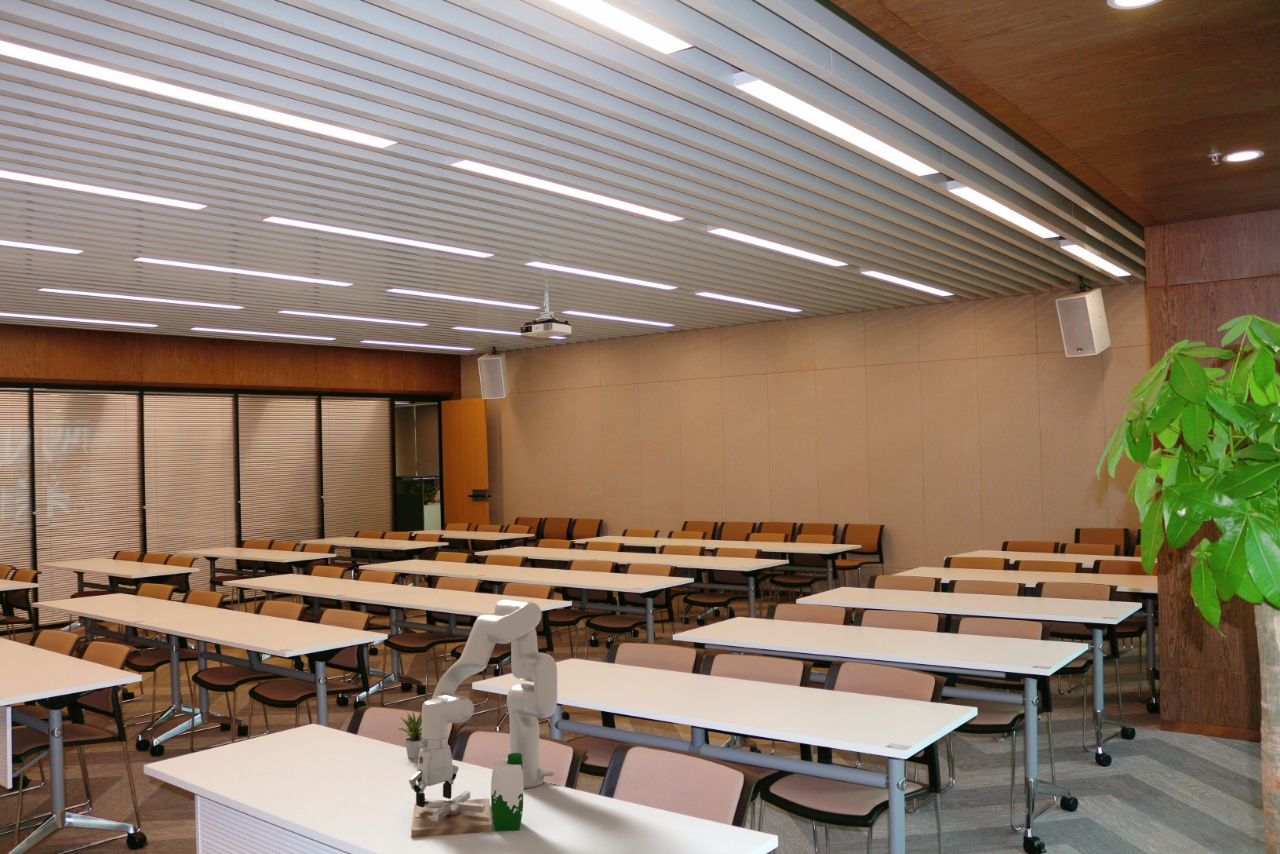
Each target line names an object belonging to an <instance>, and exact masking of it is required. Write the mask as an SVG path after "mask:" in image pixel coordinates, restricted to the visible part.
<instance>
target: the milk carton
mask: <svg viewBox="0 0 1280 854" xmlns="http://www.w3.org/2000/svg"><path fill="white" fill-rule="evenodd" d="M522 766H523V762H522V754H520V753H511V754H510V753H508V754H507V757H506V758H500V759H497V758H496V759H494V762H493V767H492V773H491V781H490V782H491V783H490V785H491V786H490V790H491V791H490V795H491V796H490V800H491V801H490V811H491V820H492V827H493V831H494V832H511V831H512V832H513V831H520V830H521V826H522V824H521V823H522V816H523V811H524V788H523V770H522Z"/></svg>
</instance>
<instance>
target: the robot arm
mask: <svg viewBox="0 0 1280 854" xmlns="http://www.w3.org/2000/svg"><path fill="white" fill-rule="evenodd" d="M541 620H542V609H541V607H540V606H539V605H538V604H537V603H535V602H533V601H526V600H517V599H511V598H509V599H508V598H506V599H501V600H499V601H498V602H497V603H495V606H494V614H487V613H486V614H482V615H481V614H480V615H479V616H478V617H477V619H476V620H475V621H474V623H473V626H472V628H471V630H470V633H469V636H468V638H467V641H466V643H465V645H464V648H463V651H462V652H461V656H460V657H459V658H458V660H456V662H455V663H453V664H452V665H451V666H450V667H449V668H448V669H447V670H446V672H444V673H443V674H442V676H441V677H440V679H439V680H438V682H437V685H436V687H435V689H434V692H433V693H432V694H433V695H432V696H431V697H432V698H431V699H428V700H425V701H424V702H423V703H422V707H421V711H422V715H421V716H422V725H421V727H422V730H421V731H422V735H421V737H422V742H421V743H419V747H422V749H420V752H419V758H417V766H416V767H417V768H416V773H415V774H413V775H412V776H411V777H410V778H409V779H408V783H409V786H410V788H411V789H412V791H414V793H415V804H416V805H417V806H419V807H424V806H425V799H426V797H425V796H426V793H425V792H424V791H425V790H426V788H427V787H431V786H435V785H439V784H441V783H443V784H442V797H443V798H446V799H448V800H450V799H451V800H452V789H453V787H452V785H453V784H455V783H454V781H455V779H456V778H457V774H458V772H459V766H458V765H455V764H453V757H452V756H453V755H452V751H451V746H450V745H449V744H448V733H449V731H448V730H449V729H448V728H449V724H455V723H457V724H459V723H464V722H467V721H468V720H470V718H472V716H473V715H474V712H475V705H474V703H473V701H472V700H471V699H470V698H469V697H466V696H463V695H458V694H455V692H456V690H457V689H458V687H460V685H461V684H462V682H463V681H464V680H466V679H467V678H469V677H472V676H474V675H476V674H478V673H481V672H482V671H484V670H485V669H486V668H487V666H488V663H489V661H490V659H491V656H492V653H493V651H494V648H495V645H496V644H501V645H506V644H507V645H508V644H509V643H511V644H510V645H511V653H510V655H511V658H510V659H511V661H510V662H511V673H512V676H513V677H514V678H516V679H517V680H520V681H524V682H525V681H527V682H529V683H523V682H522V683H517V684H515V685H512V687H510V688H509V690H508V692H507V695H506V705H507V710H508V716H509V754H511V753H520V754H522V762H523V766H522V770H523V789H532V788H537V787H539V786H541V785H543V784H544V783H545V777H554V774H555V773H554V772H555V771H554V769H550V768H541V765H540V724H539V720H538V718H539V719H547V718H549V717H551V716H552V715H553V714H554V713H555V711H556V708H557V706H558V705H557V704H558V666H557V663H556V661H555V659H554V657H553V656H552V655H550V654H548V653H545V652H539V648H538V646H539V645H538V635H537V631H536V627H537V626H538V625H539V624H540V622H541ZM530 682H531V683H533V684H530Z"/></svg>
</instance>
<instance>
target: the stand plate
mask: <svg viewBox="0 0 1280 854" xmlns="http://www.w3.org/2000/svg"><path fill="white" fill-rule="evenodd" d="M465 802H466V803H476V804H485V811H484V812H483V813H479V812H468V811H461V813H460V814H459V815H455V816H445V817H443V818H442V819H441V820H439V821H433V813H435V812H436V811H437V810H439V809H438V808H428V807H419V806H417V805H416V803H414V806H413V808H414V809H413V816H412V821H411V828H410V829H411V831H410V832H411V833H410V834H411V835H410V837H411V839H412V838H424V837H437V836H452V835H465V834H476V833H477V834H478V833H480V834H481V833H491V832H492V831H493V820H492V812H491V801H490V798H478V799H477V798H476V799H468V800H466V801H465Z"/></svg>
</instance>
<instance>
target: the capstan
mask: <svg viewBox="0 0 1280 854" xmlns="http://www.w3.org/2000/svg"><path fill="white" fill-rule="evenodd" d="M470 799H471V791H469V790H468V791H467V790H464V791H463V792H462V793H460V794H459V795H457V796H456V797H454V798H453V799H451V800H450V799H449V800H443V799H434V798H433V799H432V798H425V806H424V807H428V808H438V809H439V810H437V811H436V812H435V813H433V821H439V820H441V819H442V818H443V817H445V816H455V815H459V814H460V813H461V811H468V812H479V813H483V812H484V811H485V804H476V803H466V802H465V801H466V800H470Z"/></svg>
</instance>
